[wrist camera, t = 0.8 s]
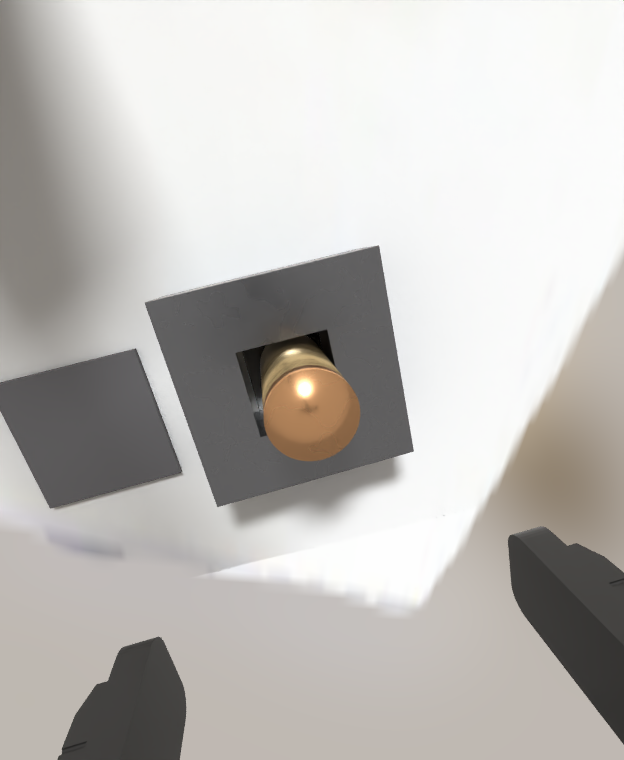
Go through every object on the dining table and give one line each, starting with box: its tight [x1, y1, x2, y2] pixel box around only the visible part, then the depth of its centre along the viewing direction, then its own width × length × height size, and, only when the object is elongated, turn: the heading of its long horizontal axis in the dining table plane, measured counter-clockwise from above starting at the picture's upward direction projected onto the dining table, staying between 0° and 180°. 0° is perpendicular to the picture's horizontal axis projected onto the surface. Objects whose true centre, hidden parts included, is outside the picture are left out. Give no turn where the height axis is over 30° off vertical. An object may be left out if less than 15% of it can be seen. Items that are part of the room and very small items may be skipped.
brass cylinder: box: [260, 335, 360, 461], centre depth 25 cm, size 5×5×11 cm
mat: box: [0, 349, 182, 508], centre depth 29 cm, size 10×10×1 cm
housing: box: [145, 246, 414, 507], centre depth 28 cm, size 14×14×5 cm
